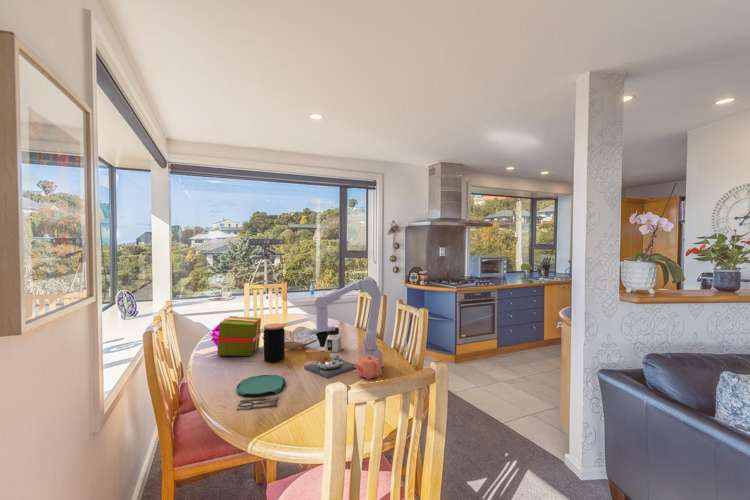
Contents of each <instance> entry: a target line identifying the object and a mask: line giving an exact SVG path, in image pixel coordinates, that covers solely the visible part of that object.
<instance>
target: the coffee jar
mask: <svg viewBox="0 0 750 500" xmlns="http://www.w3.org/2000/svg"><path fill="white" fill-rule="evenodd" d="M284 327H285V324H284V323H280V322H279V323H278V322H277V323H269V324H267V323H266V324H264V325H263V329H264V330H263V359H264V361H265V362H267V363H278V362H281V361H283V360H284V359H285V357H286V352H285V349H286V348H285V347H286V346H285V343H286V341H285V338H286V337H285V328H284Z"/></svg>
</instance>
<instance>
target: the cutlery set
mask: <svg viewBox="0 0 750 500" xmlns="http://www.w3.org/2000/svg"><path fill="white" fill-rule="evenodd" d="M285 384H286V379H285V378H284V376H282V375H279V374H261V375H251V376H250V377H246V378H243V379H242V380H241V381H240V382H239V383H238V384H237V385H236V393H237V394H238V395H240V396H243V397H244V396H261V395H262V396H263V395H268V394H270V393H275V394H278V393H280V391H281V390H282V388H283V387H284V386H285ZM256 401H258V402H256ZM277 402H279V396H276V397H275V396H274V397H260V398H250V399H241V400H240V401H239V403H238V404H237V405H238V406H239V408H238V407H237V408H236V411H237V412H238V411H249V410H250V411H251V410H253V409H263V408H264V409H265V408H271V407H277V406H278V403H277ZM264 403H271V404H266V405H259V404H264ZM245 404H247V405H245ZM254 405H255V406H254Z"/></svg>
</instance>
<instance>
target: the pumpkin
mask: <svg viewBox="0 0 750 500" xmlns="http://www.w3.org/2000/svg"><path fill="white" fill-rule="evenodd" d="M357 361H358V362H357V363H356V364H355V366H354V367H355V368H354V369H356V371H357V374H358V375H360V376H359V378H366V381H371V380H372V378H377V377H378V378H379V376H381V375H382V372H383V371H382V367H381V357H379V356H378V357H373V356H371V355H368V356H365V357H363V356H362V355H360V356H359V357H358V360H357Z"/></svg>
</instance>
